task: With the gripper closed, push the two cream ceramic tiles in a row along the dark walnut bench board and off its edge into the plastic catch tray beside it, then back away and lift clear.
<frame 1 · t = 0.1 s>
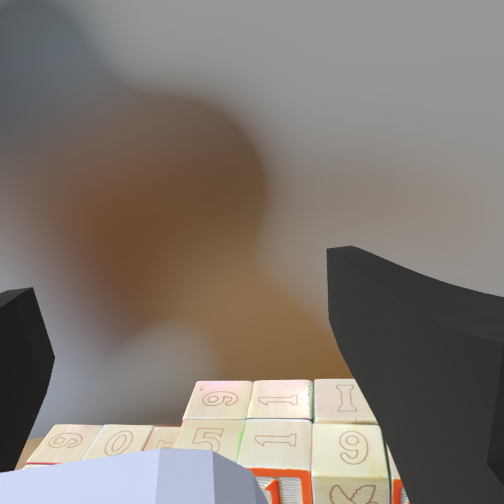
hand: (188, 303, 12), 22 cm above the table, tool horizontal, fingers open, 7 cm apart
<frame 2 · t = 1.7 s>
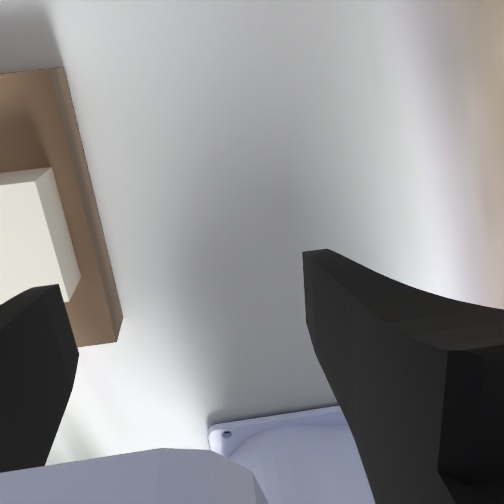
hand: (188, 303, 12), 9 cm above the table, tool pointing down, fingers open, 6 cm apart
tile 1: (6, 232, 18), point 2 cm above the table, touching bench board
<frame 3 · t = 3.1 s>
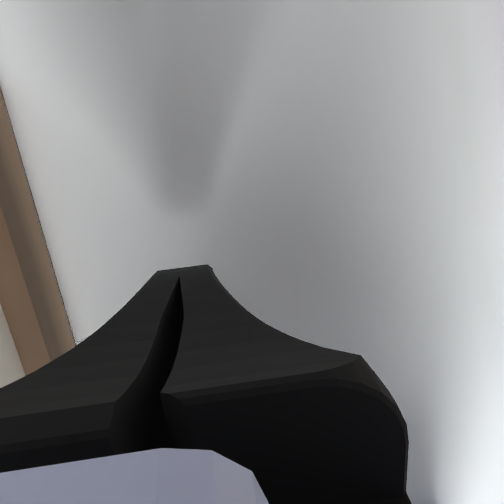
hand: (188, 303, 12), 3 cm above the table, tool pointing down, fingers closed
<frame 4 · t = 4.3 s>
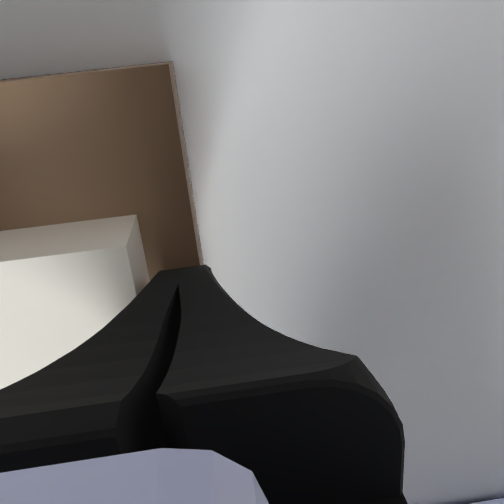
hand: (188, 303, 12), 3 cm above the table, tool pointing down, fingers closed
tile 1: (64, 307, 12), point 2 cm above the table, touching gripper
bench board: (1, 284, 14), on the table
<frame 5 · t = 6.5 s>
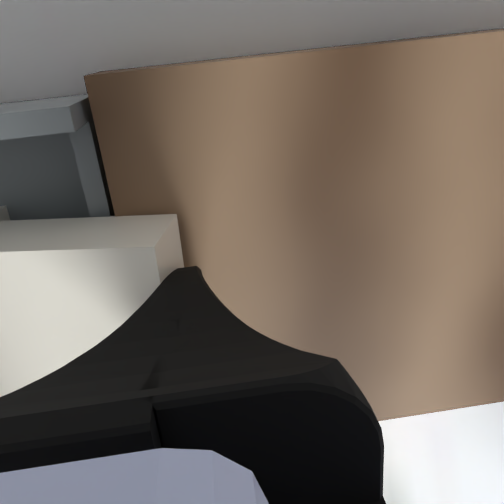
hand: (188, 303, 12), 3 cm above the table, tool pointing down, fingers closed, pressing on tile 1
tile 1: (104, 297, 13), point 2 cm above the table, tilted 11°, touching bench board, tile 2, gripper
bench board: (334, 240, 15), on the table
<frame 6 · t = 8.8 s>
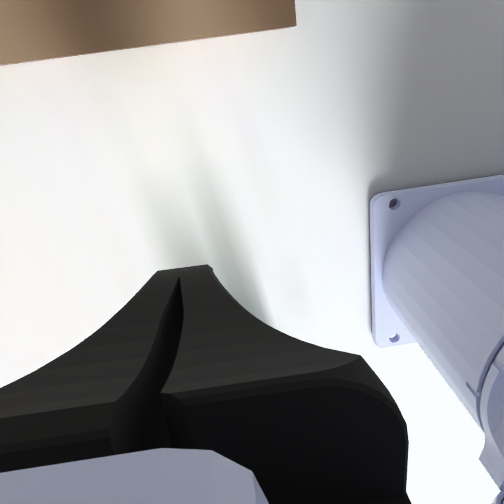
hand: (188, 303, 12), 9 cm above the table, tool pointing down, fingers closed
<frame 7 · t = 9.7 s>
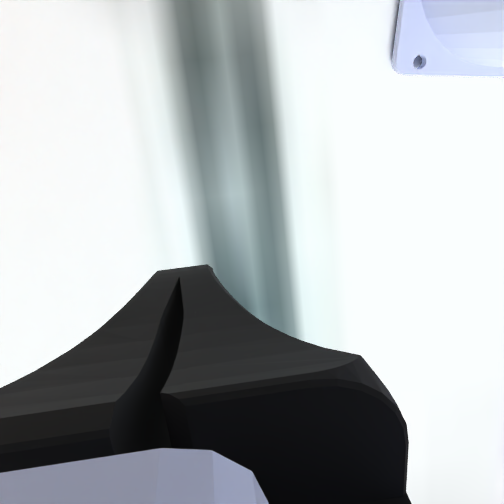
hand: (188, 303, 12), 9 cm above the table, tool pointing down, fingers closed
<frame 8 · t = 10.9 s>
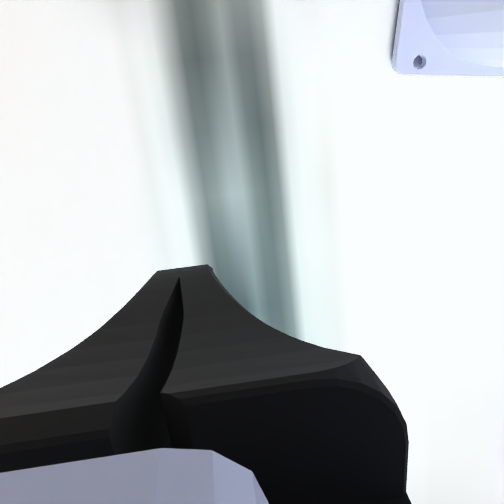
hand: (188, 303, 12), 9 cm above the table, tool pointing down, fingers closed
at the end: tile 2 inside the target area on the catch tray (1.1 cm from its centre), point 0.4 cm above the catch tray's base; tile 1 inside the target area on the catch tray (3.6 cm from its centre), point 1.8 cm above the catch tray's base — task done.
